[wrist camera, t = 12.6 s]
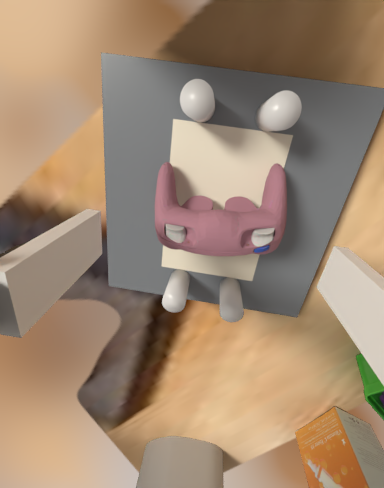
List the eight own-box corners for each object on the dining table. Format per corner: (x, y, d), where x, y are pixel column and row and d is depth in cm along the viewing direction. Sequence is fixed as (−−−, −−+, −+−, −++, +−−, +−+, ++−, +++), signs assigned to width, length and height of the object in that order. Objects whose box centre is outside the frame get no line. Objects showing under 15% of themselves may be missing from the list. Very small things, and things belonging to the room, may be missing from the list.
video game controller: (165, 201, 22) (150, 263, 18) (157, 156, 18) (136, 220, 14) (274, 203, 21) (286, 270, 17) (288, 157, 17) (308, 226, 13)
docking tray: (113, 279, 26) (90, 311, 21) (108, 57, 18) (67, 28, 13) (293, 309, 25) (310, 349, 21) (380, 92, 17) (443, 75, 12)
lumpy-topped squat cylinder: (216, 475, 42) (215, 553, 34) (145, 462, 43) (128, 535, 35) (225, 443, 37) (227, 524, 30) (146, 429, 38) (127, 505, 30)
